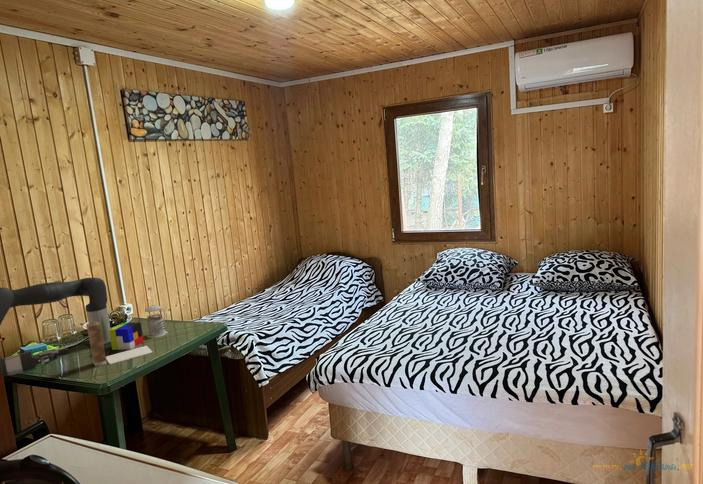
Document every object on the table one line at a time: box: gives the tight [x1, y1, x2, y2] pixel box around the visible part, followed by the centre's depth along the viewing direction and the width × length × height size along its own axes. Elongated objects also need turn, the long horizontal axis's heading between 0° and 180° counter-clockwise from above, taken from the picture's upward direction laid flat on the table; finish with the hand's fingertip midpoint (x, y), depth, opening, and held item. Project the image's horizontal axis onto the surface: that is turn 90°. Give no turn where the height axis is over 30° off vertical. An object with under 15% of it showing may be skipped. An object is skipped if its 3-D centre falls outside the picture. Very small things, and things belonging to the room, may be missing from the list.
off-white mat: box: [105, 345, 153, 366], centre depth 219 cm, size 18×12×1 cm, turn 126°
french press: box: [144, 286, 168, 339], centre depth 245 cm, size 10×12×25 cm
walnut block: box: [86, 322, 108, 368], centre depth 211 cm, size 4×6×18 cm
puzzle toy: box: [109, 322, 145, 351], centre depth 232 cm, size 10×10×10 cm
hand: (68, 350), depth 205 cm, fingers closed
